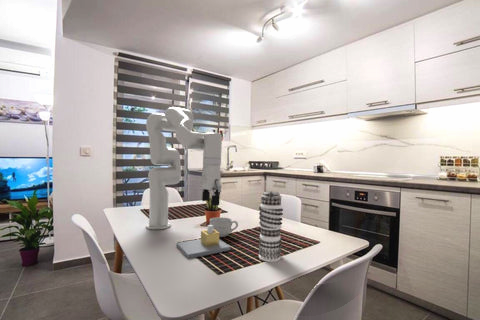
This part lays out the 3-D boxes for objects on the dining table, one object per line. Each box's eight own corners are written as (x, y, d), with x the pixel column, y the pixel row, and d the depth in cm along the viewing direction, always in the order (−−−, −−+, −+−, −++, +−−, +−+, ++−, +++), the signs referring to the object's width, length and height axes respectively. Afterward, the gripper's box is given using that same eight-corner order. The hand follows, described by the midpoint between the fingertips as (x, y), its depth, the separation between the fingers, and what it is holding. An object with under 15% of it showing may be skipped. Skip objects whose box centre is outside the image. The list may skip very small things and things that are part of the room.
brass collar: (200, 242, 103) (201, 230, 103) (213, 240, 106) (213, 228, 106) (206, 246, 98) (206, 234, 98) (219, 244, 101) (219, 232, 101)
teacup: (205, 236, 115) (205, 220, 115) (215, 230, 125) (216, 215, 125) (231, 241, 110) (232, 223, 110) (240, 234, 120) (241, 218, 120)
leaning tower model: (265, 263, 87) (267, 194, 87) (253, 254, 95) (255, 190, 95) (286, 260, 91) (288, 193, 90) (273, 251, 99) (275, 190, 99)
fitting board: (176, 246, 101) (177, 225, 101) (215, 239, 111) (216, 220, 111) (187, 258, 90) (188, 234, 89) (230, 250, 99) (231, 228, 99)
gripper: (196, 161, 107) (194, 199, 107) (212, 163, 92) (210, 207, 93) (211, 161, 111) (210, 198, 111) (229, 163, 96) (228, 206, 96)
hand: (210, 202), depth 102 cm, fingers open, 9 cm apart
